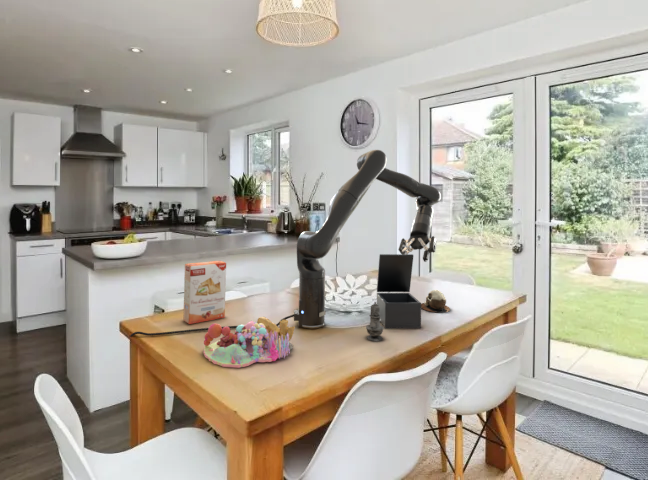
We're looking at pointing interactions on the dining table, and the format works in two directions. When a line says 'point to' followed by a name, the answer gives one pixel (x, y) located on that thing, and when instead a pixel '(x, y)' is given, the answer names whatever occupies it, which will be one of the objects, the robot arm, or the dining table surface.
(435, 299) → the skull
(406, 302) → the dark grey box
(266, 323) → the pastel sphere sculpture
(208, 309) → the cracker box
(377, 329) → the salt shaker
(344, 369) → the dining table surface
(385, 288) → the lid
